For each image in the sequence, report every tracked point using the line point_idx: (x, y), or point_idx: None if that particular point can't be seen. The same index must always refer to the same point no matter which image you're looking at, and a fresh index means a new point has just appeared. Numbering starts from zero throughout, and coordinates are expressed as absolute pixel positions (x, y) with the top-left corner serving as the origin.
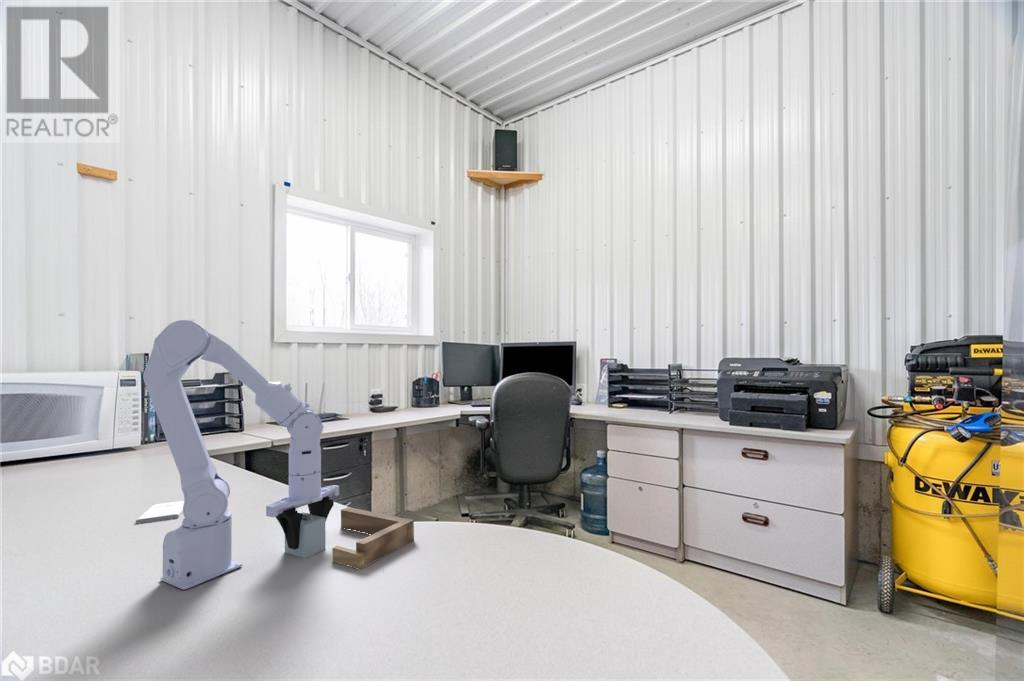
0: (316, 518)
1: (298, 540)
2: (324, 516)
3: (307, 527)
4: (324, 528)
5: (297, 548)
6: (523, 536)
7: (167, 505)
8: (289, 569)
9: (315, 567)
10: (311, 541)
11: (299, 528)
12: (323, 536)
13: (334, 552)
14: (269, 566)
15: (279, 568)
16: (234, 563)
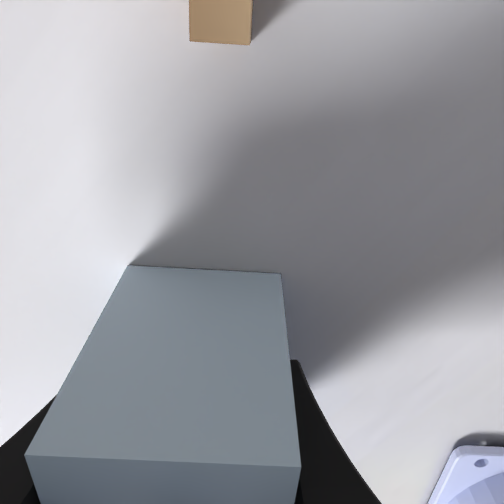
0: (101, 500)
1: None
2: (4, 484)
3: (267, 434)
4: (84, 364)
5: None
6: None
7: None
8: (433, 235)
9: (368, 95)
10: (229, 326)
11: (302, 473)
12: (118, 319)
13: (251, 9)
14: (422, 355)
15: (433, 295)
16: (465, 478)
